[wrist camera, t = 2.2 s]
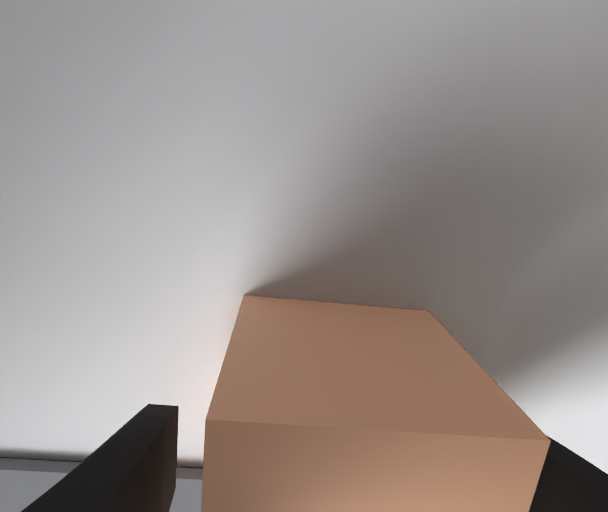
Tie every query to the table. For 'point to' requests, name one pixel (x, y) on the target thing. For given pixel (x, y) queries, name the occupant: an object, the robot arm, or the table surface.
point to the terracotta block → (361, 417)
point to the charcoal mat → (44, 474)
